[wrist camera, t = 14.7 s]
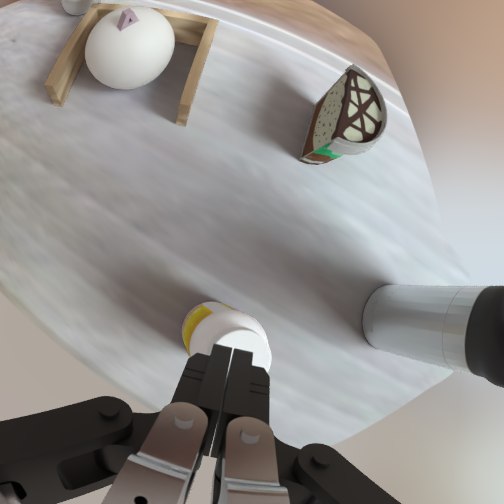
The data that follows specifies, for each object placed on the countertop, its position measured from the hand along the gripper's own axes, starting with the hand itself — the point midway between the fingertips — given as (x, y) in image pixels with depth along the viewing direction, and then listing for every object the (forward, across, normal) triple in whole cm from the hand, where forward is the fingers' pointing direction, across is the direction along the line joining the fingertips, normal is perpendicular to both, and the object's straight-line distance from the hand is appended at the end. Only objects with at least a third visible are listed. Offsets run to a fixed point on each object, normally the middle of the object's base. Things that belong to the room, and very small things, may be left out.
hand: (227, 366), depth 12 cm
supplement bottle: (+21, +2, +11) cm, 24 cm away
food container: (+33, -6, -13) cm, 36 cm away
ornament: (+27, +20, -17) cm, 38 cm away
